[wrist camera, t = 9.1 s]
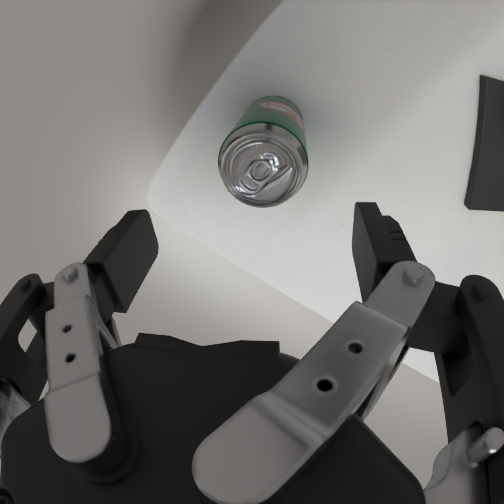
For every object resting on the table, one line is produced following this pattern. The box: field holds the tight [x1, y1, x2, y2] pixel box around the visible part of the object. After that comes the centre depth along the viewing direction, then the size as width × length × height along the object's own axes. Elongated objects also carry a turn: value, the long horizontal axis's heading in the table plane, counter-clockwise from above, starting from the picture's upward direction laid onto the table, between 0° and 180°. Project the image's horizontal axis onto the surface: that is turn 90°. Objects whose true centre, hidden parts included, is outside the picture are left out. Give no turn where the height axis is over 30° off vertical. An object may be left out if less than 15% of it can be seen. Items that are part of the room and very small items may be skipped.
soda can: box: [218, 96, 308, 208], centre depth 21 cm, size 5×5×12 cm
